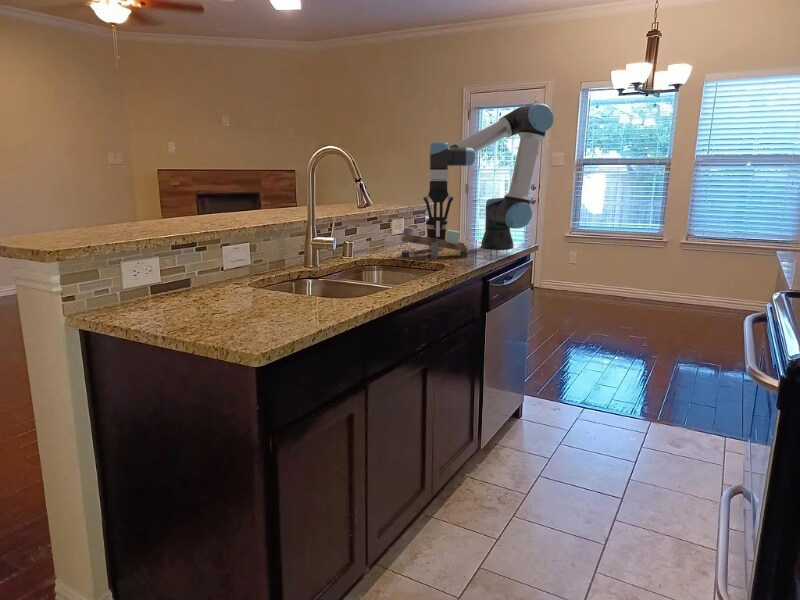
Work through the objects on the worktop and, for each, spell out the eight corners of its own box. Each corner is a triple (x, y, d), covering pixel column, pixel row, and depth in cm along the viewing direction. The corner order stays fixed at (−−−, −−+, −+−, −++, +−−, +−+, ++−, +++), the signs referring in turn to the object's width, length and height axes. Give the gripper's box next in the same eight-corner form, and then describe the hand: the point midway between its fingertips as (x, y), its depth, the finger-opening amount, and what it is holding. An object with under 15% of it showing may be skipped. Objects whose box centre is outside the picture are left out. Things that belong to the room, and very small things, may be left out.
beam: (465, 248, 246) (467, 235, 245) (466, 251, 238) (469, 238, 236) (402, 239, 247) (404, 226, 245) (401, 241, 238) (403, 228, 237)
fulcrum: (466, 254, 248) (466, 238, 247) (467, 258, 237) (467, 242, 235) (403, 254, 250) (402, 238, 248) (401, 258, 238) (401, 242, 237)
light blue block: (456, 245, 244) (459, 231, 242) (457, 246, 239) (459, 232, 238) (445, 243, 244) (447, 229, 242) (445, 244, 239) (448, 230, 238)
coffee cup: (423, 250, 259) (423, 218, 256) (428, 247, 269) (428, 216, 265) (444, 251, 257) (444, 218, 253) (449, 248, 266) (449, 216, 262)
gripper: (453, 180, 239) (452, 235, 244) (423, 180, 239) (422, 235, 245) (454, 180, 232) (453, 237, 237) (422, 180, 232) (422, 237, 238)
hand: (437, 236), depth 241 cm, fingers closed
